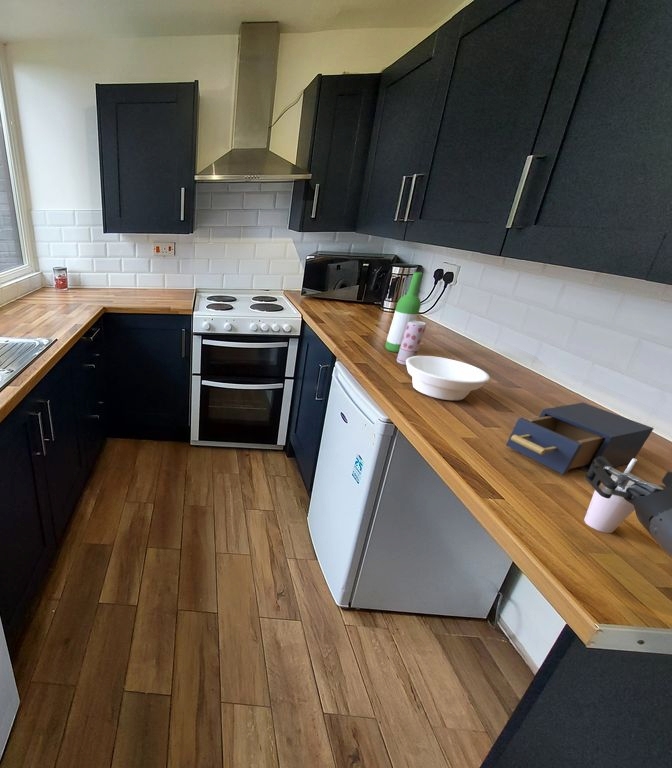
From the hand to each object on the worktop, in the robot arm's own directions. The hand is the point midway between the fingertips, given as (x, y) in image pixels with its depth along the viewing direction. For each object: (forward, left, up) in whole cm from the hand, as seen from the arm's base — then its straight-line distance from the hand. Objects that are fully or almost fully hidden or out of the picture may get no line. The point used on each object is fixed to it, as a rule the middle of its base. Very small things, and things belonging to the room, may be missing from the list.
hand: (631, 468), depth 67 cm
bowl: (+51, -22, -12) cm, 57 cm away
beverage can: (+74, -34, -12) cm, 82 cm away
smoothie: (0, +1, -12) cm, 12 cm away
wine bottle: (+86, -42, -12) cm, 96 cm away
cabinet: (+17, -25, -12) cm, 33 cm away
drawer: (+17, -14, -11) cm, 24 cm away
